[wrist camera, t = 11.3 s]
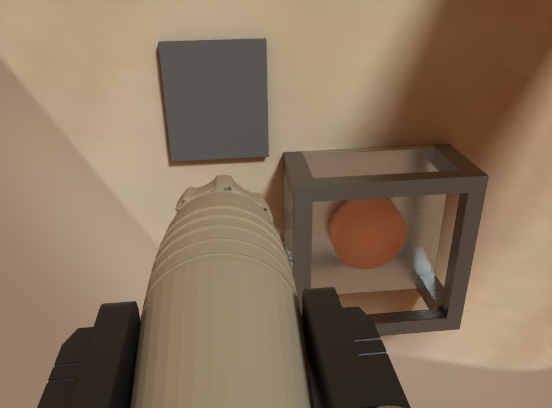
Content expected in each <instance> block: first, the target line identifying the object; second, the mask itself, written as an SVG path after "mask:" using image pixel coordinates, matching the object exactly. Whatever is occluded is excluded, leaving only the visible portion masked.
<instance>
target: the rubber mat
mask: <svg viewBox="0 0 552 408" xmlns="http://www.w3.org/2000/svg"><path fill="white" fill-rule="evenodd" d="M158 47H159V56H160V65H161V74H162V83H163V91H164V100H165V109H166V118H167V127H168V136H169V145H170V153H171V161H191V160H211V159H231V158H251V157H269V150H268V102H267V53H266V39H232V40H198V41H164V42H159V43H158Z"/></svg>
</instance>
